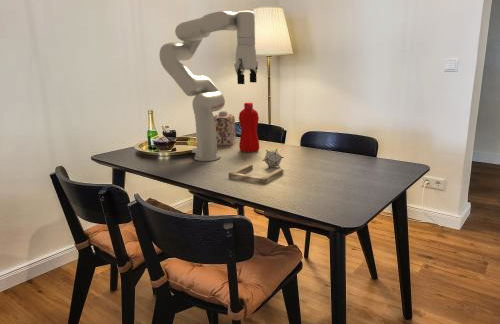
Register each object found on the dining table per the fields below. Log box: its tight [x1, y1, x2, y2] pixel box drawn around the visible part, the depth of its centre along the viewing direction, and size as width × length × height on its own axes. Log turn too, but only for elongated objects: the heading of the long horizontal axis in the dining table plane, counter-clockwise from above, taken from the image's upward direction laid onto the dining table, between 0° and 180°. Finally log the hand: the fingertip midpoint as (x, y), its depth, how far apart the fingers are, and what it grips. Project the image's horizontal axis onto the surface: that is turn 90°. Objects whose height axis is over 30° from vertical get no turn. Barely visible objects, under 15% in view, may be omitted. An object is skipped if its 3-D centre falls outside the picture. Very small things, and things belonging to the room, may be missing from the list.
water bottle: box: [238, 102, 260, 154], centre depth 206 cm, size 9×11×25 cm
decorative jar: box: [213, 110, 236, 146], centre depth 226 cm, size 12×12×18 cm
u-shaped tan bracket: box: [228, 163, 284, 185], centre depth 167 cm, size 17×16×2 cm
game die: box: [262, 148, 284, 169], centre depth 178 cm, size 9×8×10 cm
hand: (247, 83), depth 175 cm, fingers open, 9 cm apart
